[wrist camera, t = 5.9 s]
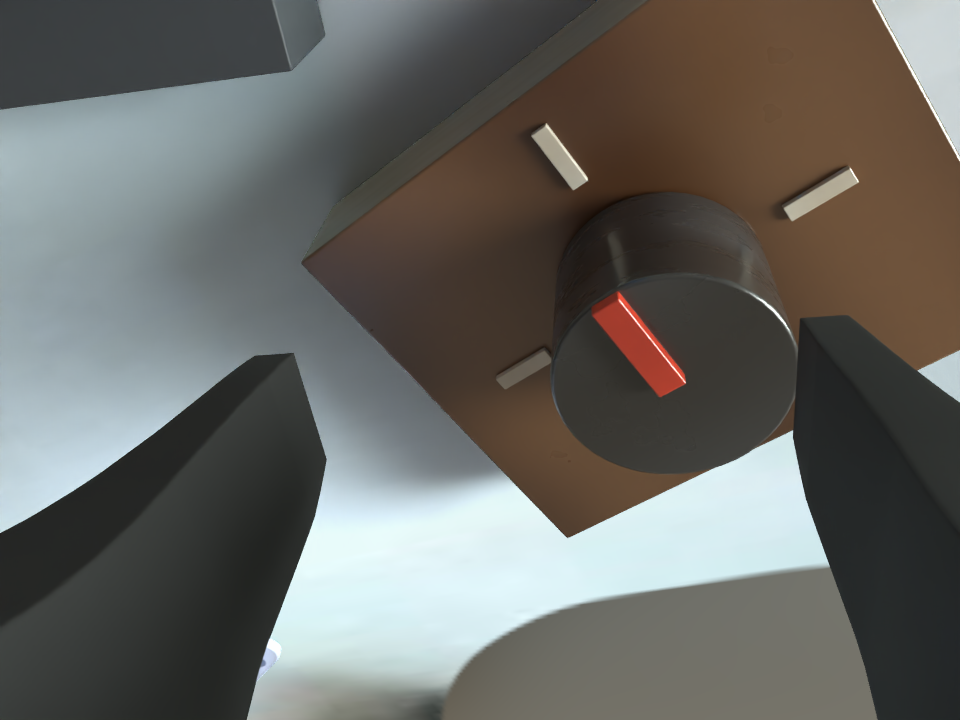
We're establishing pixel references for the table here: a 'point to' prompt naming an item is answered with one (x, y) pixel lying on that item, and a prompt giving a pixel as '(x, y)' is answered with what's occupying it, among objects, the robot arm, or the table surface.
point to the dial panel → (643, 170)
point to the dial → (670, 336)
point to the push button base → (145, 44)
